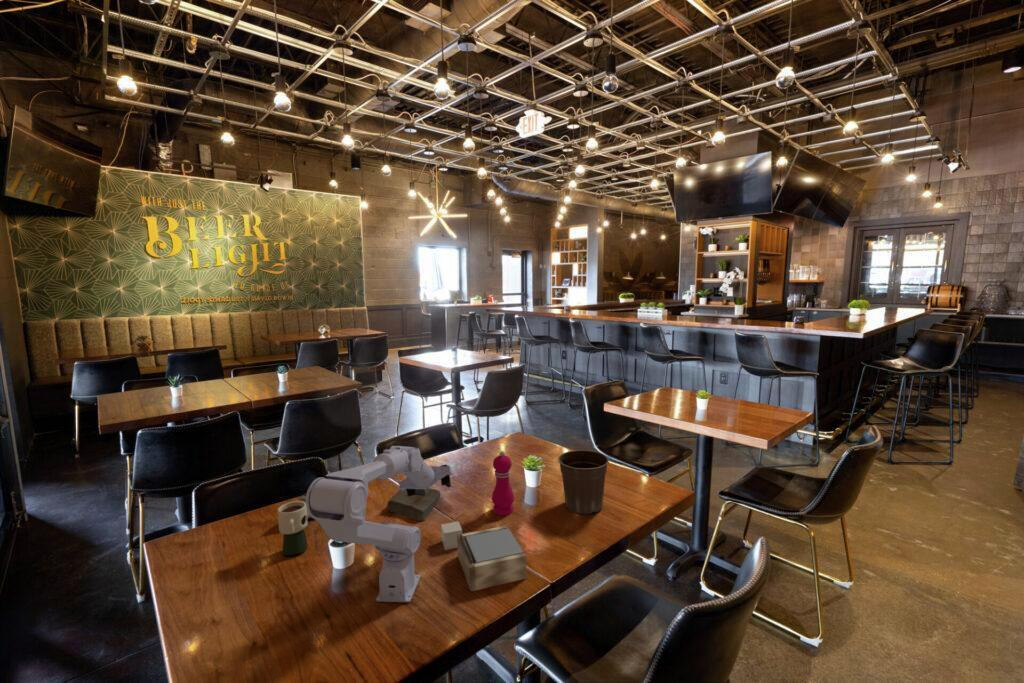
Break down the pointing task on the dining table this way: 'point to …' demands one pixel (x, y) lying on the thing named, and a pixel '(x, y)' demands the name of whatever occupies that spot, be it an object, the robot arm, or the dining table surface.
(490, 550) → the trapdoor flap
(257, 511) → the dining table surface
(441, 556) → the dining table surface
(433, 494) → the dark grey rock slab
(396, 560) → the robot arm
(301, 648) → the dining table surface
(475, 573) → the frame
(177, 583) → the dining table surface
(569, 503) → the plant pot
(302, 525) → the character mug
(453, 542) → the pale grey cube
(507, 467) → the pepper mill
